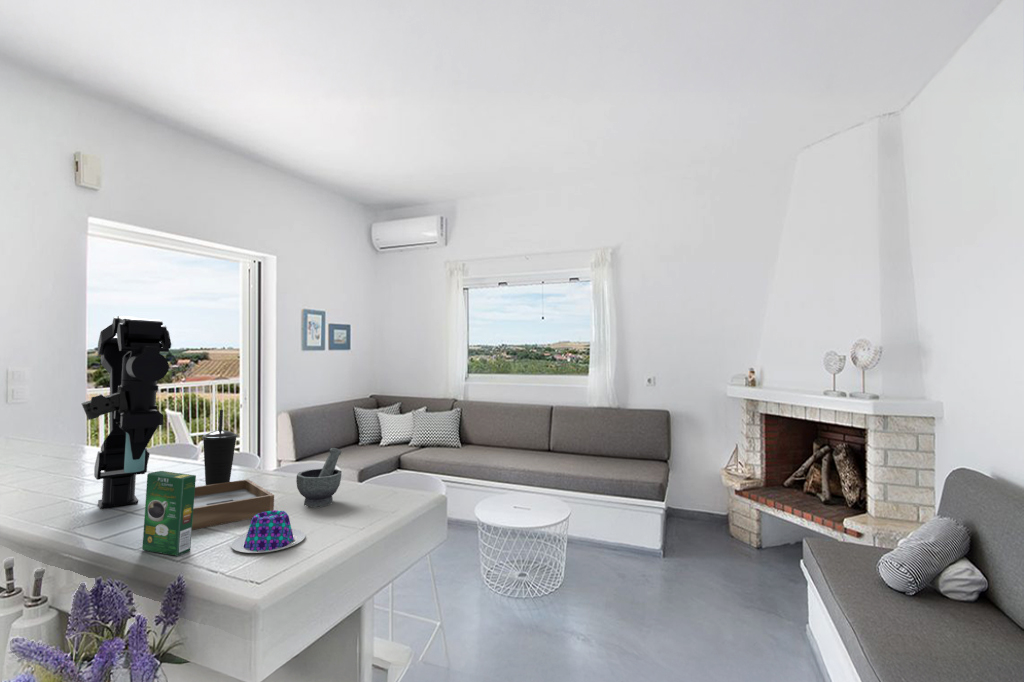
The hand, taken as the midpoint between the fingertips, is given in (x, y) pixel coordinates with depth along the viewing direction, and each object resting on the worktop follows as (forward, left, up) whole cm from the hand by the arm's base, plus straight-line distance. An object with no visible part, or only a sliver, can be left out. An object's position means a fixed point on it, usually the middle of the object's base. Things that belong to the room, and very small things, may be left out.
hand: (135, 458), depth 96 cm
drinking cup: (-15, +18, -13) cm, 27 cm away
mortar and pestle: (+11, +33, -13) cm, 37 cm away
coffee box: (+22, +2, -13) cm, 26 cm away
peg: (0, 0, -2) cm, 2 cm away
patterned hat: (+29, +17, -13) cm, 36 cm away
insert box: (+4, +14, -13) cm, 20 cm away
